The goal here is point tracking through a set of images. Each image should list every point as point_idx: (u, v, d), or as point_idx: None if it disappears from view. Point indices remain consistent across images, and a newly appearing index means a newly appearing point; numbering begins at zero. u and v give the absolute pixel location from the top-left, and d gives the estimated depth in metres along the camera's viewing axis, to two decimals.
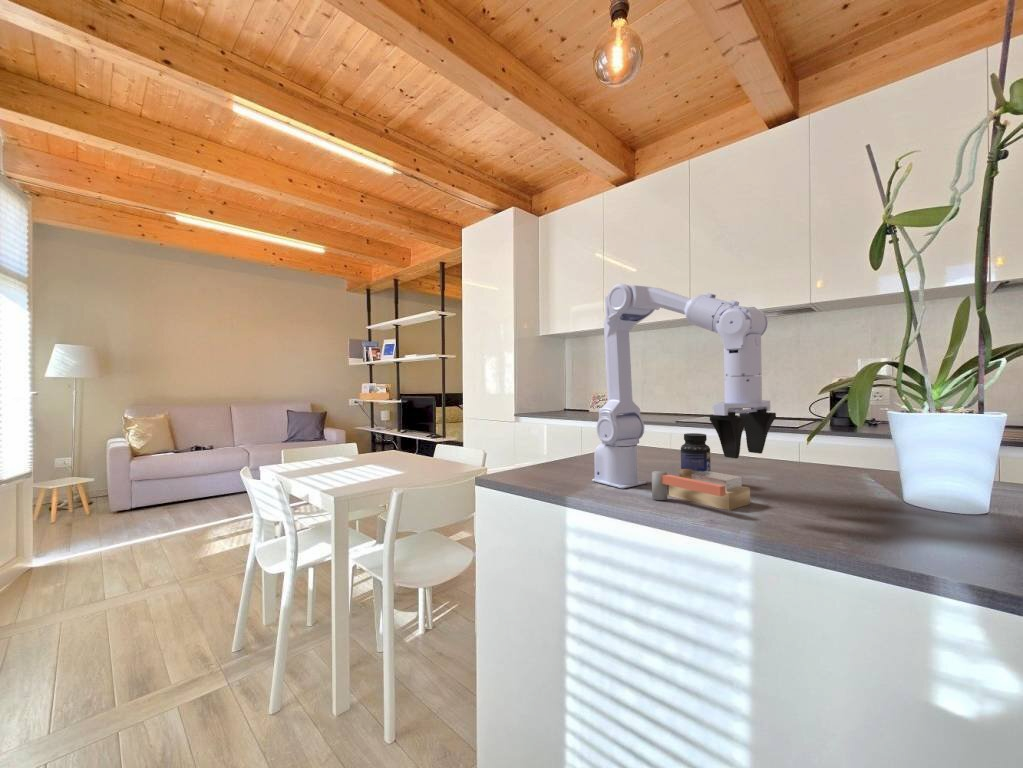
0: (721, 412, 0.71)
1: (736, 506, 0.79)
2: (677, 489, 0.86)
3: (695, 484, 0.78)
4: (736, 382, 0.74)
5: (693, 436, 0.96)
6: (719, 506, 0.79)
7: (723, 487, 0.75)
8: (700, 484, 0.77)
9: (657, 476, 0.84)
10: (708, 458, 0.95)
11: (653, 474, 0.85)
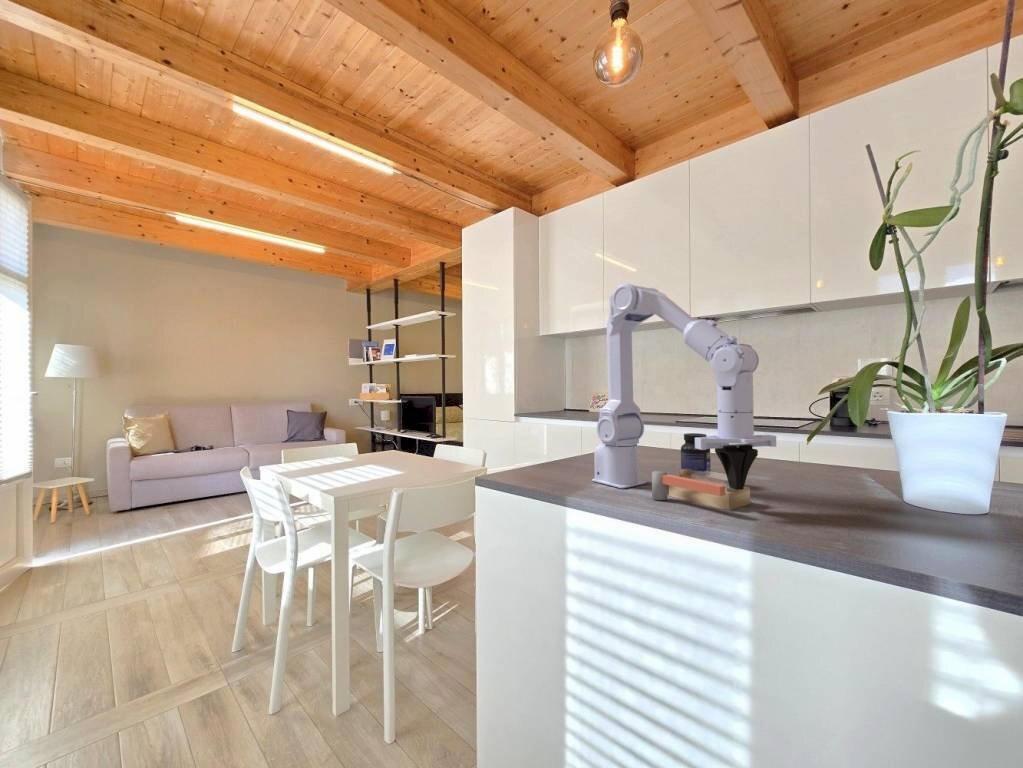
0: (699, 446, 0.76)
1: (736, 506, 0.79)
2: (677, 489, 0.86)
3: (695, 484, 0.78)
4: (722, 418, 0.77)
5: (693, 436, 0.96)
6: (719, 506, 0.79)
7: (723, 487, 0.75)
8: (700, 484, 0.77)
9: (657, 476, 0.84)
10: (708, 458, 0.95)
11: (653, 474, 0.85)
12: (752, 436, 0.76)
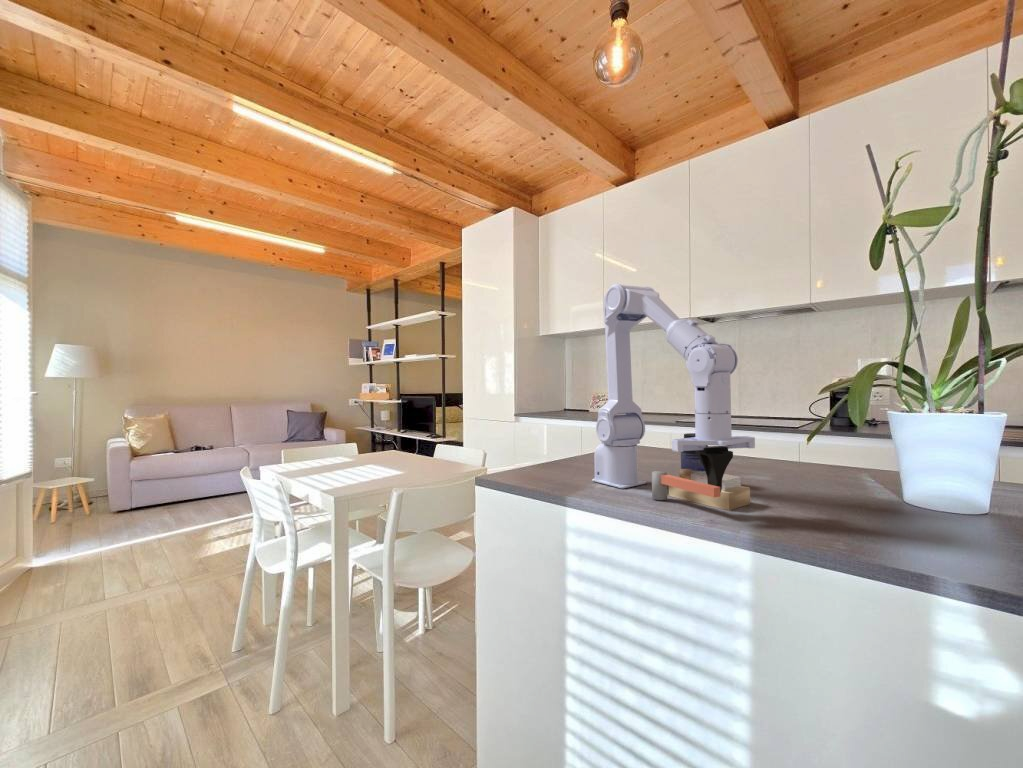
0: (676, 448, 0.75)
1: (736, 506, 0.79)
2: (677, 489, 0.86)
3: (691, 485, 0.78)
4: (699, 419, 0.75)
5: (693, 436, 0.96)
6: (719, 506, 0.79)
7: (718, 488, 0.74)
8: (696, 484, 0.77)
9: (656, 476, 0.84)
10: None
11: (653, 474, 0.85)
12: (729, 438, 0.74)
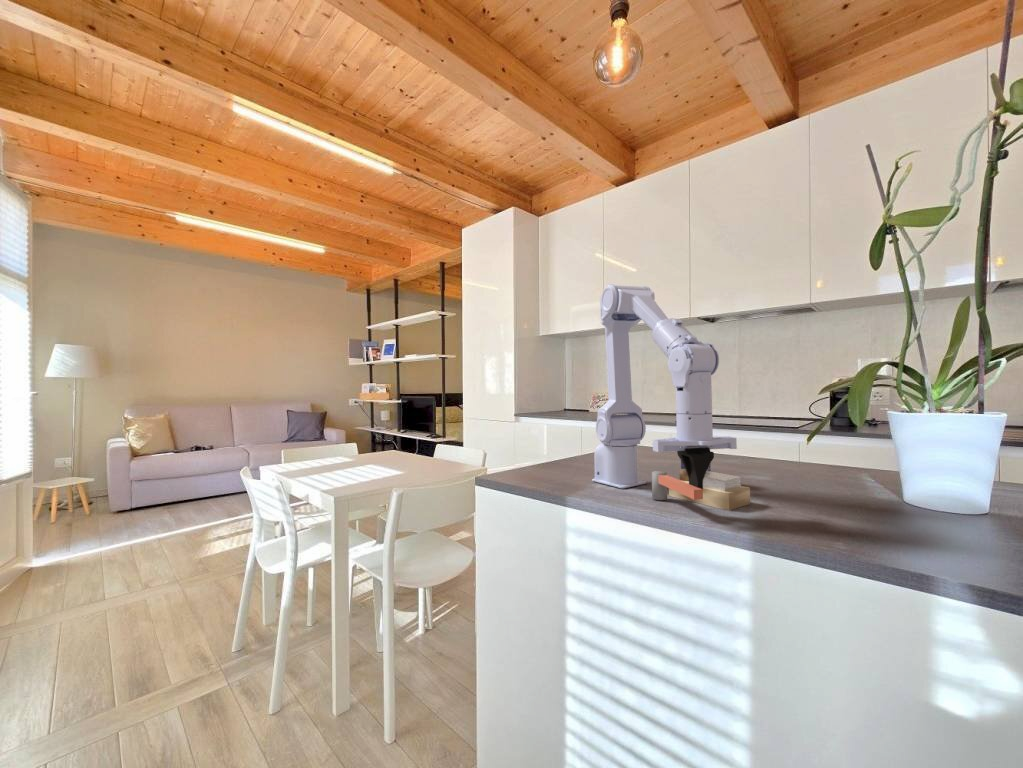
0: (657, 448, 0.74)
1: (736, 506, 0.79)
2: None
3: (678, 486, 0.77)
4: (680, 419, 0.75)
5: None
6: (719, 506, 0.79)
7: (699, 491, 0.73)
8: (681, 486, 0.76)
9: (654, 476, 0.85)
10: None
11: (652, 473, 0.86)
12: (710, 438, 0.73)
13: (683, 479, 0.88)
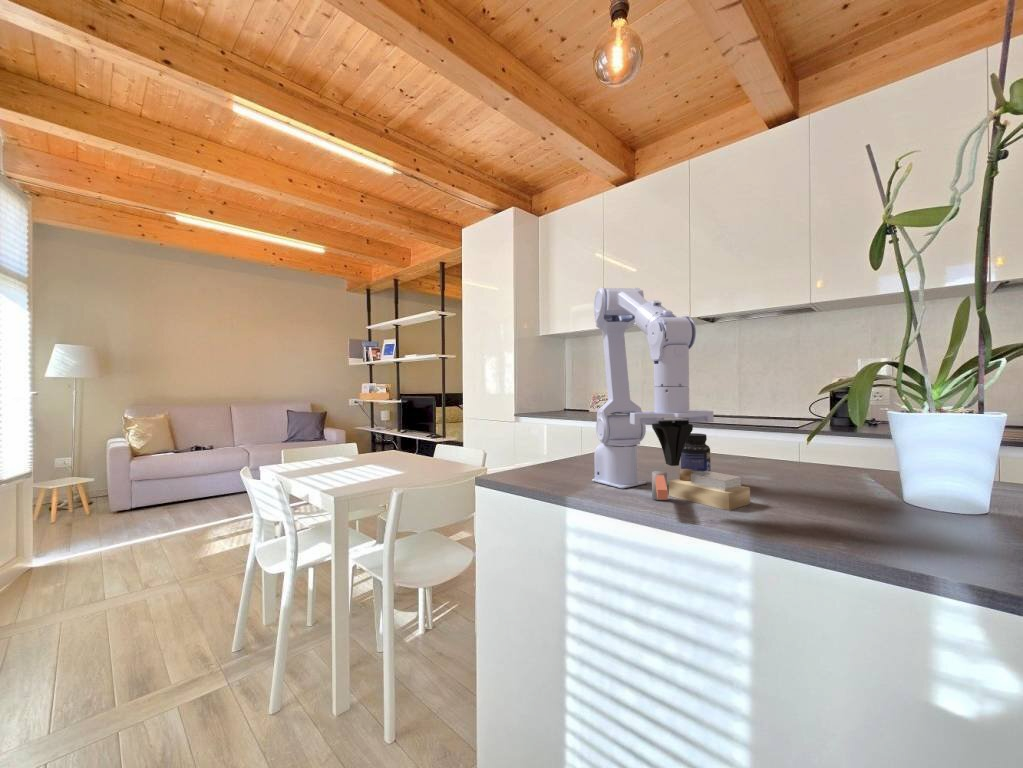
0: (633, 421, 0.74)
1: (736, 506, 0.79)
2: (677, 489, 0.86)
3: (656, 485, 0.78)
4: (657, 392, 0.75)
5: (693, 436, 0.96)
6: (719, 506, 0.79)
7: (663, 491, 0.73)
8: (656, 485, 0.77)
9: (652, 475, 0.85)
10: (708, 458, 0.95)
11: None
12: (687, 411, 0.74)
13: (683, 479, 0.88)
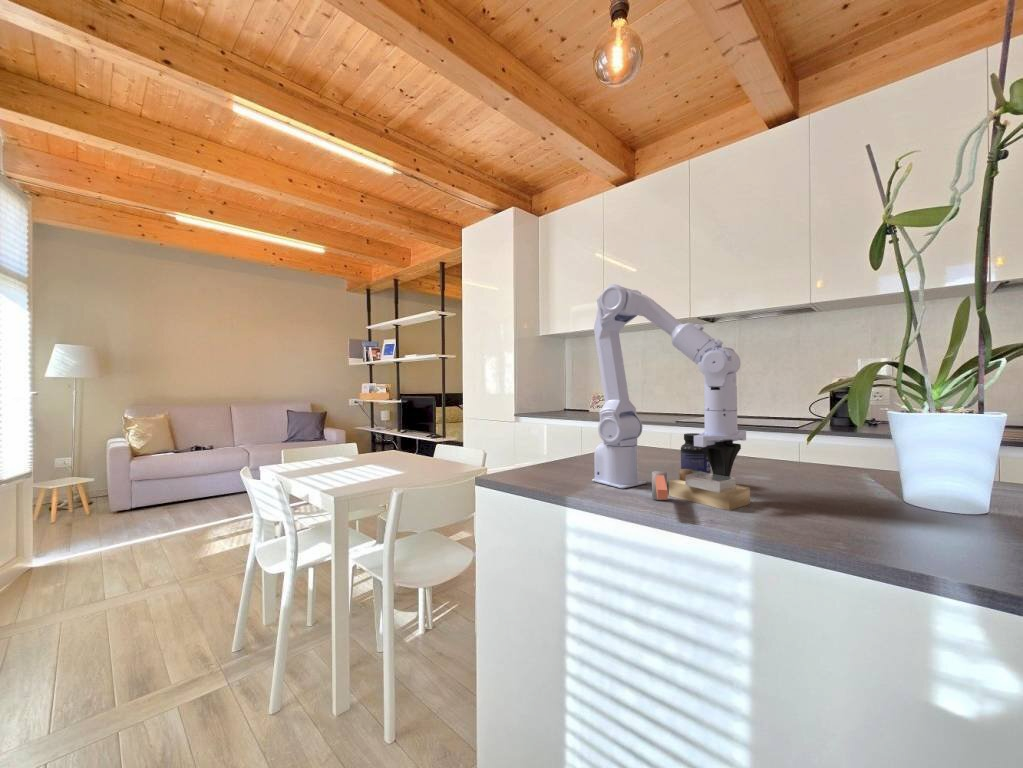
0: (700, 443, 0.80)
1: (736, 506, 0.79)
2: (677, 489, 0.86)
3: (656, 485, 0.78)
4: (714, 416, 0.82)
5: (693, 436, 0.96)
6: (719, 506, 0.79)
7: (663, 491, 0.73)
8: (656, 485, 0.77)
9: (652, 475, 0.85)
10: None
11: None
12: (737, 432, 0.83)
13: (683, 479, 0.88)
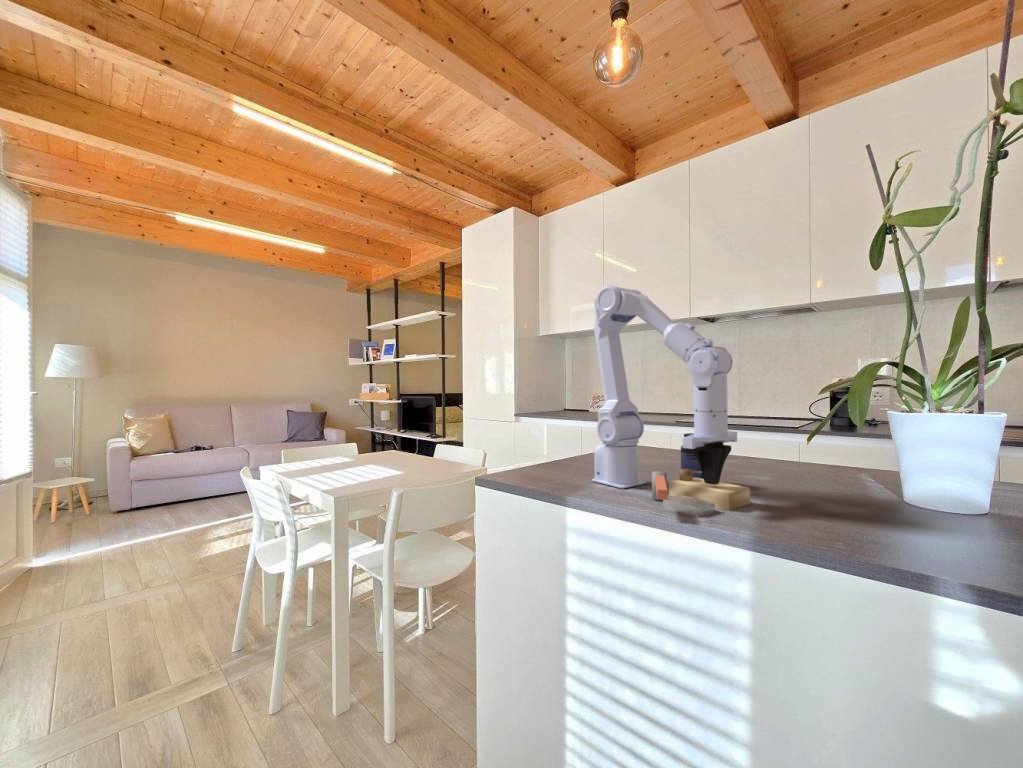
0: (689, 445, 0.78)
1: (736, 506, 0.79)
2: (677, 489, 0.86)
3: (656, 485, 0.78)
4: (704, 417, 0.80)
5: None
6: (719, 506, 0.79)
7: (663, 491, 0.73)
8: (656, 485, 0.77)
9: (652, 475, 0.85)
10: None
11: None
12: (727, 433, 0.81)
13: (683, 479, 0.88)
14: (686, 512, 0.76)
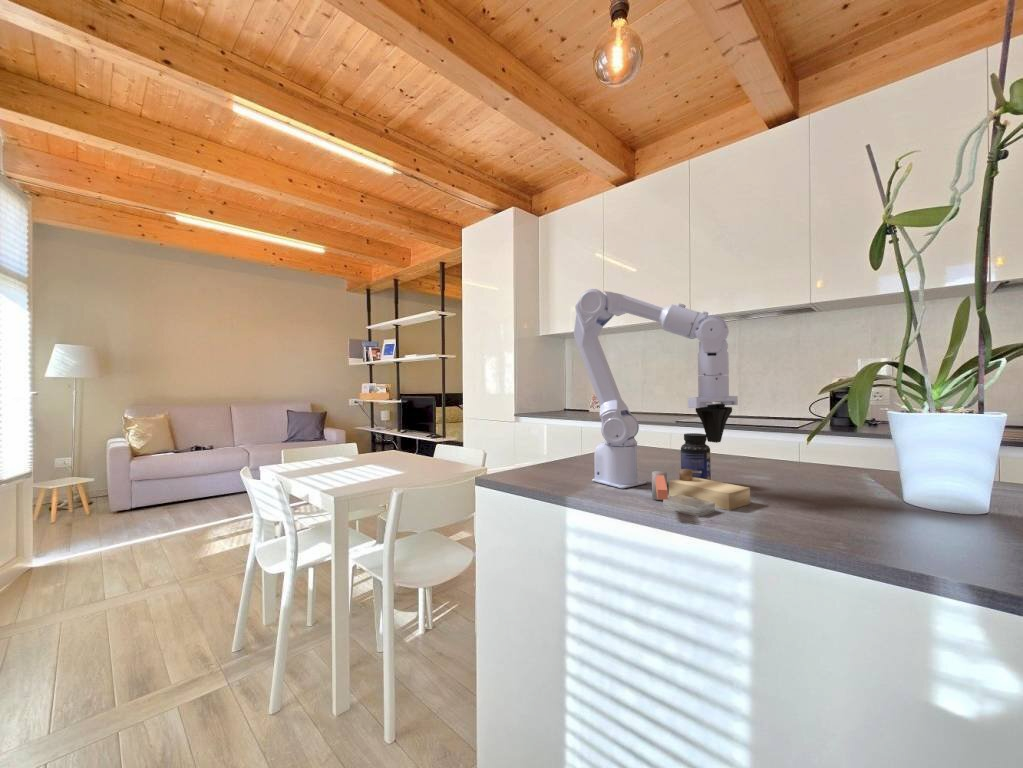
0: (694, 405, 0.85)
1: (736, 506, 0.79)
2: (677, 489, 0.86)
3: (656, 485, 0.78)
4: (707, 380, 0.88)
5: (693, 436, 0.96)
6: (719, 506, 0.79)
7: (663, 491, 0.73)
8: (656, 485, 0.77)
9: (652, 475, 0.85)
10: (708, 458, 0.95)
11: None
12: (728, 395, 0.88)
13: (683, 479, 0.88)
14: (686, 512, 0.76)
